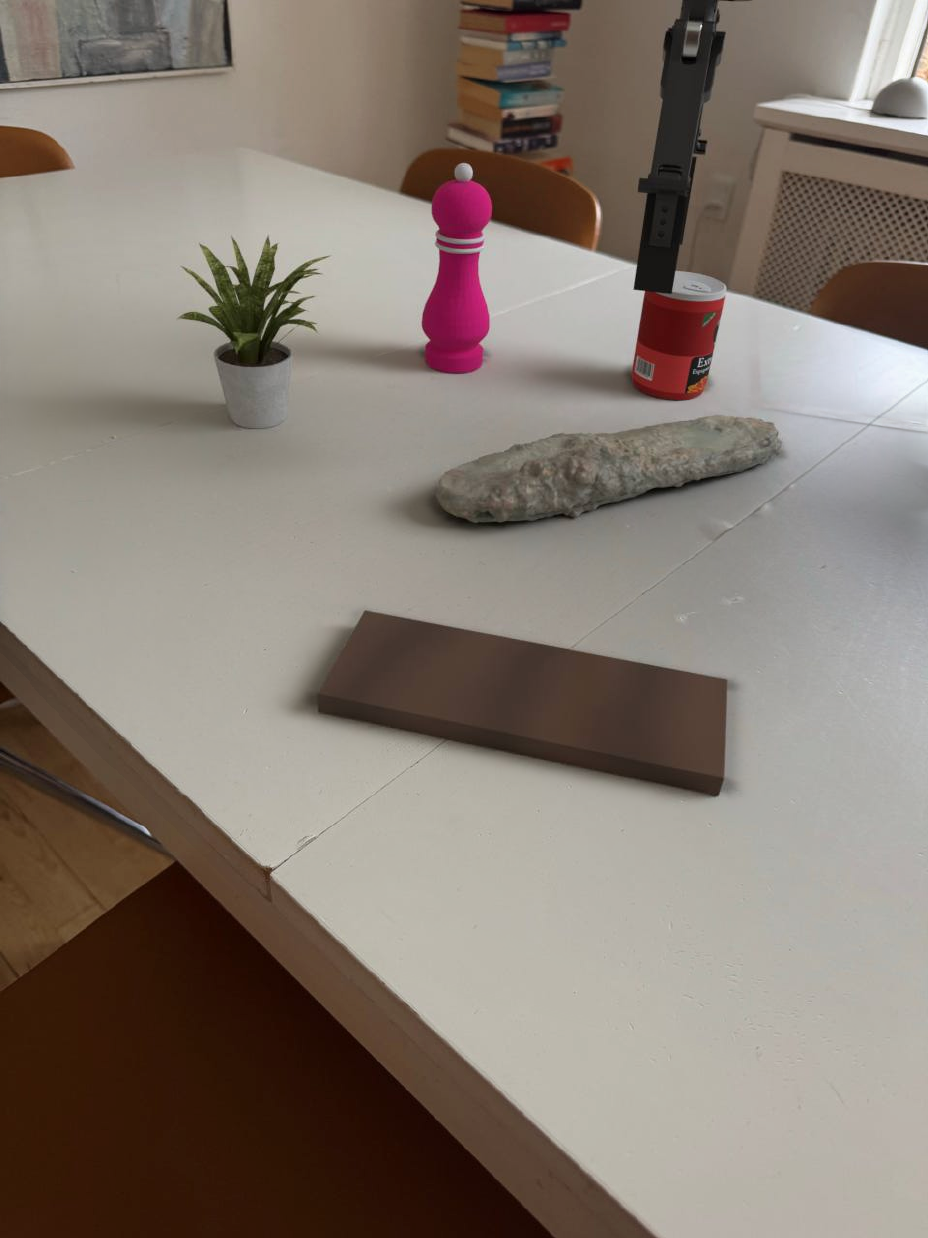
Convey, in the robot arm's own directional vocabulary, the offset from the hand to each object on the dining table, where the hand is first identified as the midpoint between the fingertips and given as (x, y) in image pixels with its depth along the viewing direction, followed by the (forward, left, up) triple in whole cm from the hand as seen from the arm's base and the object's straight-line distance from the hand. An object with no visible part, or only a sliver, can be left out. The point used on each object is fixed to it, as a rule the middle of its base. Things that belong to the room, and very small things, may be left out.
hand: (659, 264), depth 74 cm
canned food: (-2, -23, -19) cm, 29 cm away
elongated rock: (0, +1, -19) cm, 19 cm away
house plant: (+34, 0, -19) cm, 38 cm away
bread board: (+3, +32, -19) cm, 37 cm away
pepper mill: (+21, -21, -19) cm, 35 cm away
